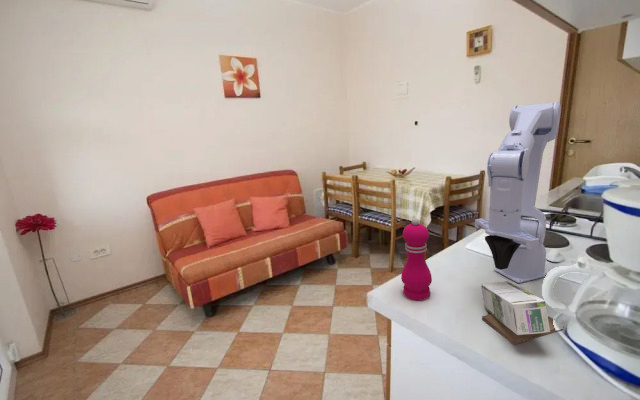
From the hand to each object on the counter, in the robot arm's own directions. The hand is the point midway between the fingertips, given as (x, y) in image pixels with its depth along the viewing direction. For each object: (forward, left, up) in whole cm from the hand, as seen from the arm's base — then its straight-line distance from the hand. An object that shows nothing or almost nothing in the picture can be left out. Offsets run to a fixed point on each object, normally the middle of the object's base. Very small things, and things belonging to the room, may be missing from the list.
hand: (501, 267), depth 67 cm
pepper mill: (+14, -11, -10) cm, 20 cm away
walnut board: (+1, +7, -9) cm, 12 cm away
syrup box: (+1, 0, -7) cm, 7 cm away
